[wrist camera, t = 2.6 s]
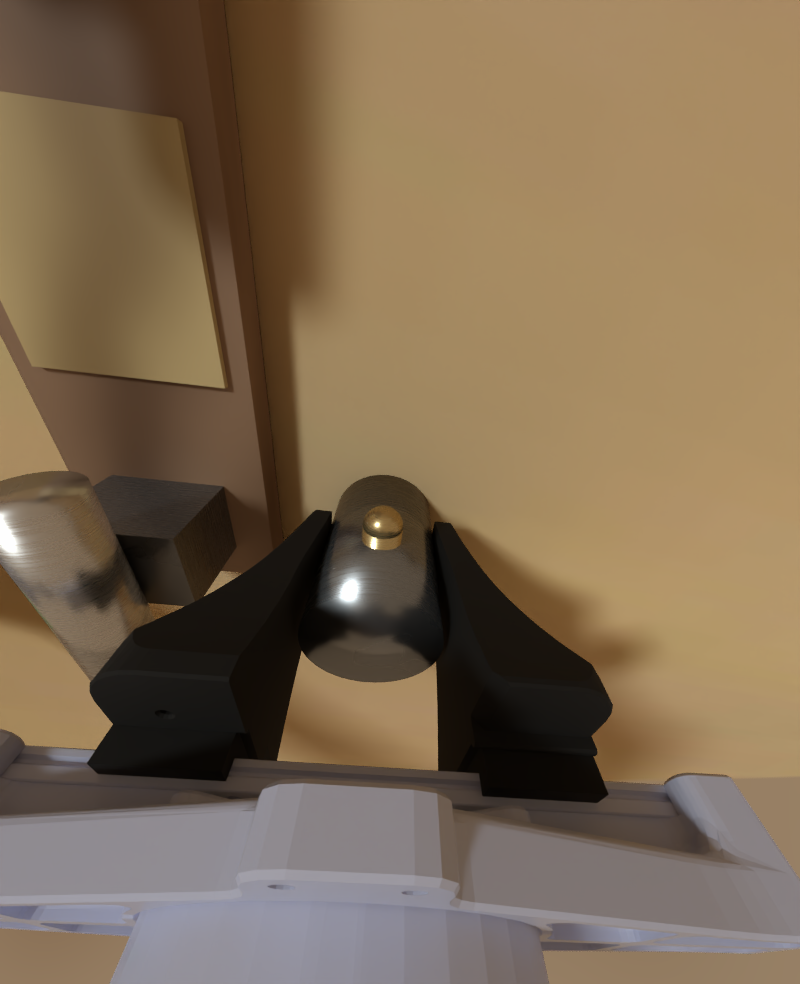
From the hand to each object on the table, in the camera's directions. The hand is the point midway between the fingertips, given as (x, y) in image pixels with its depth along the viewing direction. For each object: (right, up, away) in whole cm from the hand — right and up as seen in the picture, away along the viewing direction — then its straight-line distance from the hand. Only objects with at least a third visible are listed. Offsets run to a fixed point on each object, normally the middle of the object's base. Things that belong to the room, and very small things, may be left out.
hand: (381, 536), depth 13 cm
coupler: (0, +1, +1) cm, 1 cm away
